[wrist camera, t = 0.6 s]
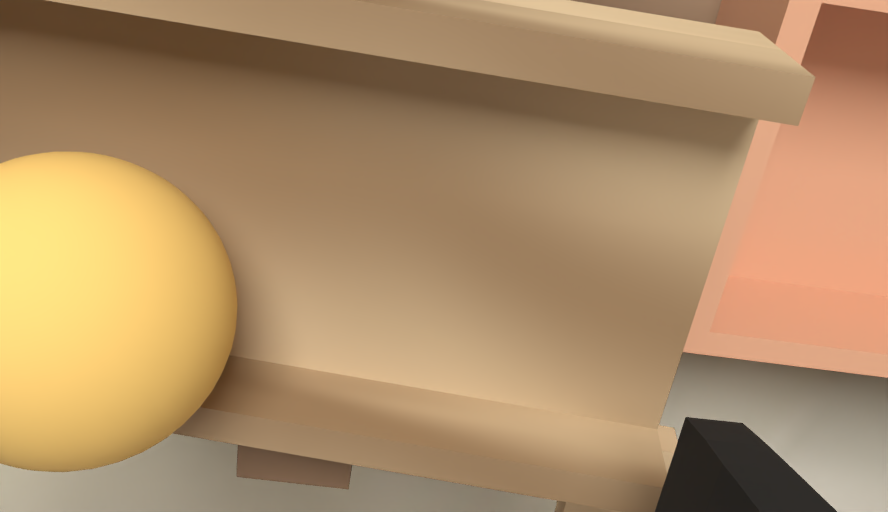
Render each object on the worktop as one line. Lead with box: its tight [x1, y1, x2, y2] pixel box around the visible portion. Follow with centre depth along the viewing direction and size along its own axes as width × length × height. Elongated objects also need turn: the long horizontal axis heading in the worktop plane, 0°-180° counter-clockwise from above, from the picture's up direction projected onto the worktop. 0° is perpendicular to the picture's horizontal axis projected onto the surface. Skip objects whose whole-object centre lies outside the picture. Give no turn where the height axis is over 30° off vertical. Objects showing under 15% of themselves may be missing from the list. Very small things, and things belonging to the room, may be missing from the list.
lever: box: [0, 0, 815, 512], centre depth 12 cm, size 13×11×4 cm
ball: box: [0, 152, 238, 472], centre depth 9 cm, size 4×4×4 cm
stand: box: [237, 0, 722, 489], centre depth 14 cm, size 9×21×8 cm, turn 82°
